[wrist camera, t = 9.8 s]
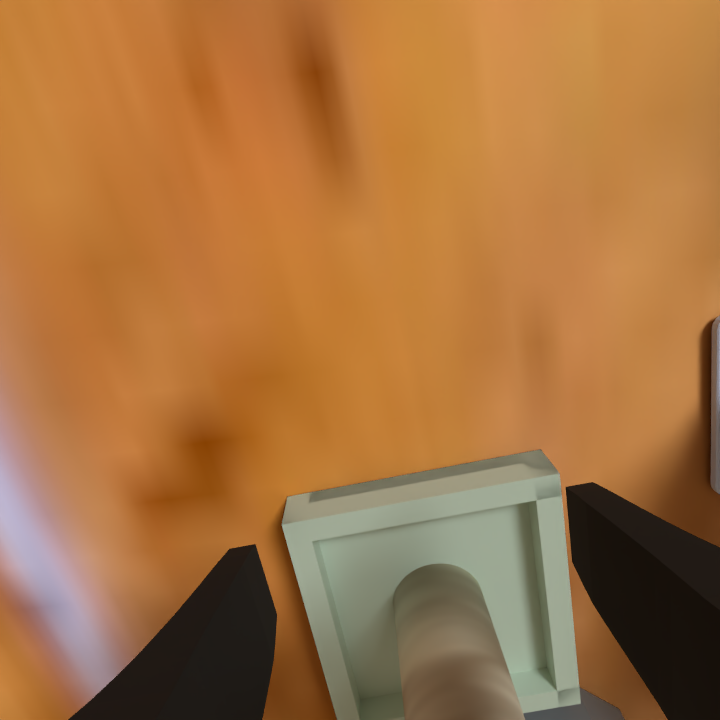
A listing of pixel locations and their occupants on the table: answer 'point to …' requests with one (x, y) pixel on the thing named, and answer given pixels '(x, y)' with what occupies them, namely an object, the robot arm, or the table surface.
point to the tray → (437, 546)
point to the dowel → (450, 649)
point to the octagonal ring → (579, 710)
